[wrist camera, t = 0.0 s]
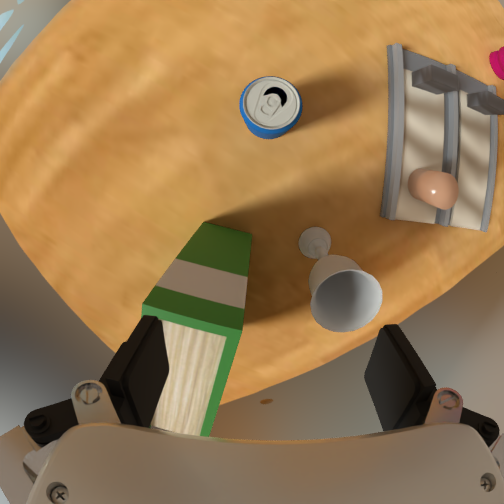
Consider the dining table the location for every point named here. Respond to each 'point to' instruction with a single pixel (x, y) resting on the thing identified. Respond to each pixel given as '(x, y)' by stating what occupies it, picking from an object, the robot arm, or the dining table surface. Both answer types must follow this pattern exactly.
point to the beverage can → (270, 107)
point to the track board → (413, 62)
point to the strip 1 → (422, 134)
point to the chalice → (338, 286)
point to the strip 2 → (473, 156)
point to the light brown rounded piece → (433, 187)
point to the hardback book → (200, 325)
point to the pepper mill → (498, 62)
